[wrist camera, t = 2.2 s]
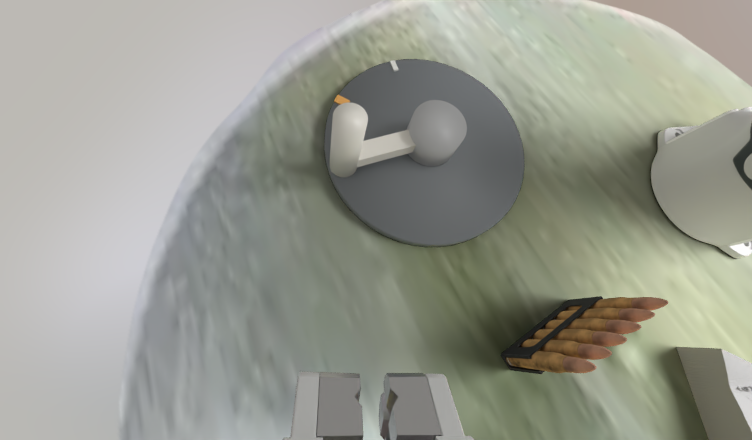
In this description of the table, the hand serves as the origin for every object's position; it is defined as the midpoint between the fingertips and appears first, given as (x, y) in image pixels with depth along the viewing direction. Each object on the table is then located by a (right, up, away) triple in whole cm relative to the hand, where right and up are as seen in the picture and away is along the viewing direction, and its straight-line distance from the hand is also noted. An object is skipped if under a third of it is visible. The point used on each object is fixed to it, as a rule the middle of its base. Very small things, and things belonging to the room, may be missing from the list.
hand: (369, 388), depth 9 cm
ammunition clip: (+18, -8, +30) cm, 36 cm away
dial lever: (+2, +12, +31) cm, 34 cm away
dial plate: (+6, +13, +34) cm, 37 cm away
